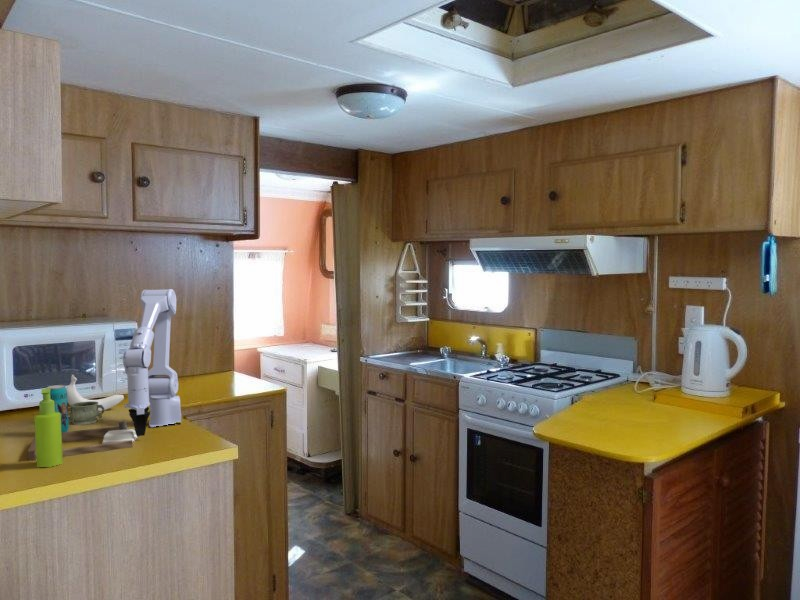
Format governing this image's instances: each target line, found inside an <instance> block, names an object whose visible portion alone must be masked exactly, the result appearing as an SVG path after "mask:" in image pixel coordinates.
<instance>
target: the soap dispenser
mask: <svg viewBox="0 0 800 600" xmlns="http://www.w3.org/2000/svg"><path fill="white" fill-rule="evenodd" d="M50 390H51V388H47V387H45V388H42V389H41V392H40V393H41V395H42V400H41V401H39V403H38V404H39V413H38V414H35V415H34V433H35V434H34V436H35V438H36V457H37V460H36V467H37V468H39V467H49V468H53V467H52V466H54V467H57V466H56V465H58V466H60V465H62V464H63V463H64V460H63V459H64V458H63V457H64V456H63V455H62V449H63V442H62V435H61V414H60V413H59V412H55V404H54V400H52V399H50ZM59 464H60V465H59Z"/></svg>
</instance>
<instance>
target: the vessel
mask: <svg viewBox="0 0 800 600" xmlns="http://www.w3.org/2000/svg"><path fill="white" fill-rule="evenodd" d="M97 404H98V402H94V401H88V402H79V403H74V404H71V405H70V404H69V407H68V412H70V415H69V416H68V421H69V423H70V422H72V420H73V422H72V425H74V424H76V425H75V426H81V425H82V426H83V425H89V424H94V423H96V422H98V419H102V418H103V414H104V413H105V410H104V407H103V406H102V405H97ZM98 408H102V411H98ZM97 417H98V419H97Z"/></svg>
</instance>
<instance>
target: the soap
mask: <svg viewBox="0 0 800 600" xmlns="http://www.w3.org/2000/svg"><path fill="white" fill-rule="evenodd" d="M136 439H138V436H137V435H136V431H135V428H131V429H126V430H113V431H108V432H107V433H106V434H105V436H104V437H103V440H102V442H101V444H107V443H115V442H123V441H131V440H132V443H133V441H134V442H135V441H136Z"/></svg>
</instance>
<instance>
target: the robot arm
mask: <svg viewBox="0 0 800 600" xmlns="http://www.w3.org/2000/svg"><path fill="white" fill-rule="evenodd" d="M139 296H140V297H139V298H140V299H139V301H140V305H141V307H142V308H141V309H142V315H141V320H140V326H139V327H138V328H136V329H135V330H134V332H133V336H132V340H131V342H130V345H129V348H128V349H127V350H125V351H124V353H123V355H122V365H123V367H124V372H125V375H126V376H127V382H126V383H127V394H128V395H127V398H128V399H127V401H128V403H125V404H124V406H123V407H124V408H127V409H128V408H129V409H128V414H129V417H130V418H131V420H132V422H133V426H134V430H135V431H136V435H137V437H140V436H145V434H146V430H147V423H148V426H149V427H150V428H156V426H159V427H164V426H163V425H167V426H169V425H168V424H174V423H176V422H181V423H182V412H181V410H182V409H181V398H180V395H176V394H178V391H179V379H178V373H177V371H176V370H174V369H173V368H172V367H171V366H170V349H171V348H170V345H171V325H172V323H171V322H172V317H173V316H175V315H176V313H177V295H176V292H175V290H174V289H172V288H169V289H167V288H166V289H143V290H142V291H141V293H140V295H139ZM153 329H154V331H153ZM152 345H153V359H152V350H151V348H152ZM151 361H153V362H152V367H151V368H150V369H149V367H150V365H151ZM149 417H150V420H149Z"/></svg>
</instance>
